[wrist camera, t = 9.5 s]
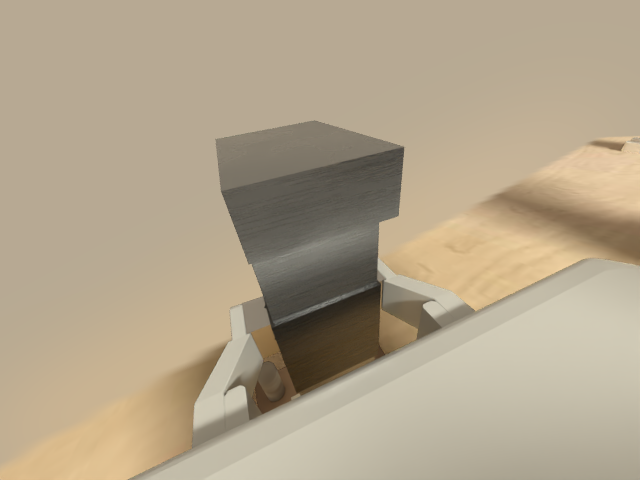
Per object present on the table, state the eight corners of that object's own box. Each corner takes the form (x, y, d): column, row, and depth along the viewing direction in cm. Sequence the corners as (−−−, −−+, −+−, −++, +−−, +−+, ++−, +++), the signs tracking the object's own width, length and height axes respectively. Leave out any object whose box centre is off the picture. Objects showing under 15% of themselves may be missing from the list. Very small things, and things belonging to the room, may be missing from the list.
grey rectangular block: (339, 324, 16) (317, 120, 9) (383, 404, 12) (408, 146, 5) (285, 347, 15) (212, 139, 8) (314, 442, 11) (214, 192, 4)
